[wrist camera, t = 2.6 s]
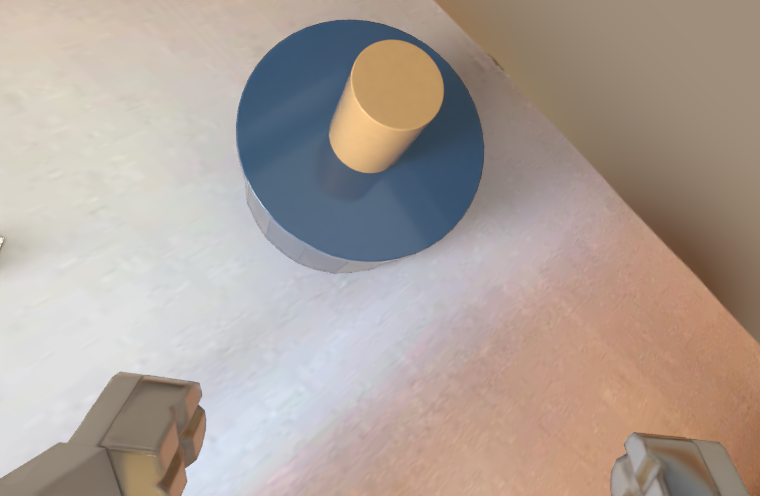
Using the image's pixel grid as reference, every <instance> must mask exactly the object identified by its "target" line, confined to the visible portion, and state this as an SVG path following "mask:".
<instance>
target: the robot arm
mask: <svg viewBox="0 0 760 496" xmlns="http://www.w3.org/2000/svg"><path fill="white" fill-rule="evenodd" d="M201 397H202V391H201V387H200V383H198V382H192V381H185V380H178V379H171V378H164V377H157V376H150V375H142V374H135V373H127V372H119V373H117V374H116V375H115V376H113V377H112V378H111V380H110V381H109V382H108V384H107V385H106V387H105V388H104V390H103V391H102V393H101V394H100V396H99V397H98V399H97V400H96V402H95V403H94V405H93V406H92V407H91V409H90V410H89V412H88V413H87V415H86V416H85V418H84V419H83V421H82V422H81V424H80V425H79V427H78V428H77V430H76V431H75V432H74V434H73V435H72V437H71V438H70V440H69V441H68V443H62V442H59V443H57V444H56V445H54V446H52V447H51V448H49V449H48V450H46V451H44V452H43V453H41V454H40V455H38V456H36V457H35V458H33V459H31V460H30V461H28V462H27V463H25V464H23V465H22V466H20V467H18V468H17V469H15V470H14V471H12V472H10V473H9V474H7V475H5V476H4V477H2V478H1V479H0V496H181V495H182V492H183V490H184V488H185V486H186V483H187V477H186V472H185V468H186V467H188V466H189V465H190V464H192V463H193V462H194V461H196V460H197V457H198V455H199V452H200V450H201V447H202V444H203V440H204V435H205V431H206V415H205V410H204V409H203V408H202V407H201V406H199V405H198V403H199V401H200V399H201ZM624 447H625V450H626V453H627V454H625V455H624V456H622V457H620V458H618V459H616V461H615V463H614V466H613V468H612V470H611V479H610V490H611V496H750V494H749V492H748V490H747V488H746V486H745V484H744V483H743V481H742V479H741V477H740V475H739V473H738V471H737V469H736V468H735V466H734V464H733V462H732V460H731V458H730V456H729V454H728V453H727V451H726V449H725V447H724V446H723V445H721V444H720V443H719V442H715V441H706V440H698V439H687V438H685V437H675V436H665V435H656V434H646V433H636V432H634V433H632V434H630V435H629V436H628V438H627V439H626V441H625V443H624Z"/></svg>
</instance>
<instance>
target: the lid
mask: <svg viewBox="0 0 760 496" xmlns="http://www.w3.org/2000/svg"><path fill="white" fill-rule="evenodd" d="M236 141H237V151H238V157H239V162H240V166H241V169H242V172H243V175H244V178H245V181H246V183H247V185H248V187H249V189H250V191H251V193H252V195H253V197H254V198H255V200H256V201H257V203H258V204H259V206H260V208H261V209H262V210H263V211H264V213H265V214H266V215H267V216H268V217H269V218H270V220H271V221H272V222H273V223H274V224H275V225H276V226H277V227H278V228H280V229H281V230H282V231H283V232H284V233H285V234H286V235H288V236H289V237H291V238H292V239H293V240H295V241H296V242H298V243H299V244H301V245H303V246H305V247H306V248H308V249H310V250H312V251H314V252H316V253H319V254H322V255H324V256H327V257H330V258H333V259H337V260H341V261H346V262H353V263H363V264H367V263H384V262H390V261H396V260H399V259H402V258H406V257H409V256H412V255H414V254H416V253H418V252H420V251H422V250H424V249H426V248H428V247H430V246H431V245H433V244H435V243H436V242H438V241H439V240H441V239H442V238H443V237H444V236H445V235H447V234H448V233H449V232H450V231H451V230H452V229H453V228H454V227H455V226H456V225H457V223H458V222H459V221H460V220H461V219H462V218H463V216H464V215H465V213H466V211H467V210H468V208H469V207H470V205H471V203H472V201H473V199H474V196H475V194H476V192H477V189H478V186H479V182H480V179H481V175H482V168H483V162H484V143H483V133H482V128H481V123H480V119H479V116H478V113H477V110H476V107H475V104H474V102H473V100H472V98H471V96H470V94H469V92H468V90H467V88H466V87H465V85H464V84H463V82H462V80H461V79H460V77H459V76H458V75H457V73H456V72H455V71H454V70H453V69H452V67H451V66H450V65H449V64H448V63H447V62H446V61H445V60H444V59H443V58H442V57H441V56H440V55H439V54H438V53H437V52H435V51H434V50H433V49H431V48H430V47H429V46H428V45H426V44H425V43H423V42H422V41H420V40H418V39H417V38H415V37H413V36H412V35H410V34H407V33H405V32H403V31H401V30H399V29H396V28H393V27H390V26H387V25H384V24H380V23H375V22H370V21H362V20H335V21H329V22H324V23H319V24H316V25H313V26H310V27H306V28H304V29H302V30H300V31H298V32H296V33H293V34H292V35H290V36H288V37H287V38H285V39H284V40H282V41H281V42H279V43H278V44H277V45H276V46H275V47H273V48H272V49H271V50H270V51H269V52H268V53H267V54H266V55H265V56H264V57H263V58H262V60H261V61H260V62H259V63H258V64H257V66H256V67H255V69H254V70H253V72H252V74H251V75H250V77H249V79H248V81H247V83H246V85H245V88H244V90H243V92H242V96H241V99H240V103H239V107H238V113H237V122H236Z"/></svg>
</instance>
